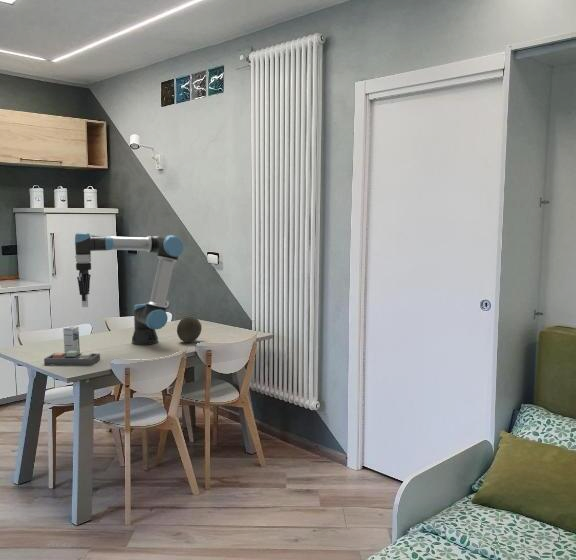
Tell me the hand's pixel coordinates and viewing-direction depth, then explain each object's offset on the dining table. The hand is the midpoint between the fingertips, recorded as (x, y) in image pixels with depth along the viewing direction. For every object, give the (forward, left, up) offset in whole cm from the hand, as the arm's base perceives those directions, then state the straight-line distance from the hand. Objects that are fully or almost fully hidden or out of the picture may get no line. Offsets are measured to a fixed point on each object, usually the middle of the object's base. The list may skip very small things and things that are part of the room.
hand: (85, 306), depth 313 cm
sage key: (+2, +14, -23) cm, 27 cm away
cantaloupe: (-48, -36, -27) cm, 66 cm away
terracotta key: (+9, +14, -24) cm, 29 cm away
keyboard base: (+2, +14, -26) cm, 30 cm away
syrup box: (+10, -5, -27) cm, 29 cm away
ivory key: (-5, +14, -24) cm, 28 cm away
